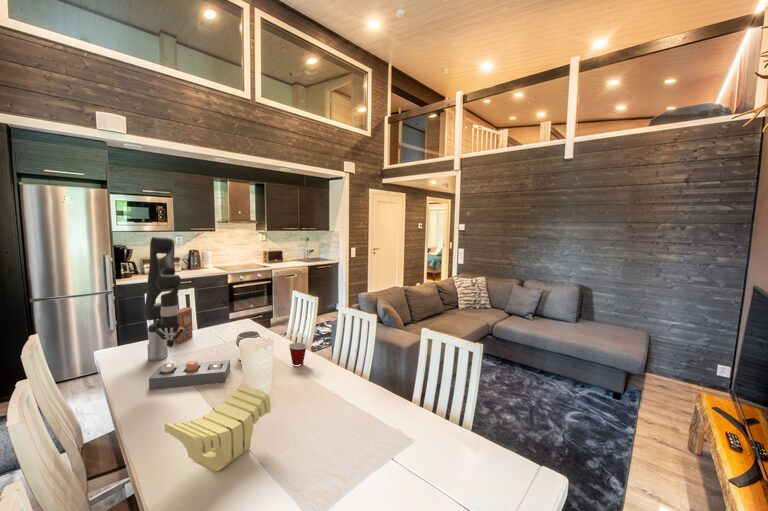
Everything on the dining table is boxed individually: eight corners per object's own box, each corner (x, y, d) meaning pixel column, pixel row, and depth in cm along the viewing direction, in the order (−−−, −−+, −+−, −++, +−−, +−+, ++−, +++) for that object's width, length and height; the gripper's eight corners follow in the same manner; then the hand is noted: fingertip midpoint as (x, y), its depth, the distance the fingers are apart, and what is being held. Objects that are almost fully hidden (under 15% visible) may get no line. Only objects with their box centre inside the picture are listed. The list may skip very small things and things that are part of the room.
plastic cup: (310, 365, 193) (310, 346, 191) (292, 370, 186) (292, 349, 185) (303, 359, 201) (303, 340, 200) (286, 363, 195) (286, 343, 194)
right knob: (208, 377, 172) (208, 368, 171) (210, 373, 177) (210, 364, 177) (220, 376, 173) (219, 367, 173) (222, 372, 179) (222, 363, 178)
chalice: (233, 363, 193) (233, 338, 192) (239, 354, 207) (238, 331, 205) (258, 362, 196) (258, 337, 194) (262, 353, 209) (262, 330, 208)
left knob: (159, 377, 165) (159, 368, 165) (164, 372, 171) (163, 363, 170) (172, 376, 167) (172, 366, 166) (176, 371, 172) (175, 362, 172)
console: (149, 390, 161) (148, 378, 160) (160, 376, 175) (160, 365, 174) (225, 382, 170) (225, 371, 169) (230, 370, 184) (229, 360, 184)
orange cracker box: (194, 336, 236) (181, 343, 221) (185, 336, 236) (171, 343, 221) (193, 307, 234) (180, 312, 219) (184, 306, 234) (170, 312, 219)
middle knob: (184, 375, 168) (184, 365, 168) (187, 370, 174) (187, 361, 173) (196, 374, 170) (196, 364, 170) (199, 369, 175) (199, 360, 175)
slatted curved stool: (198, 492, 101) (196, 438, 100) (166, 474, 108) (164, 423, 107) (270, 437, 128) (270, 393, 127) (241, 425, 135) (241, 384, 134)
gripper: (186, 311, 172) (187, 343, 174) (157, 312, 168) (158, 344, 170) (182, 315, 165) (183, 348, 167) (151, 316, 161) (152, 350, 163)
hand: (170, 346), depth 168 cm, fingers closed
